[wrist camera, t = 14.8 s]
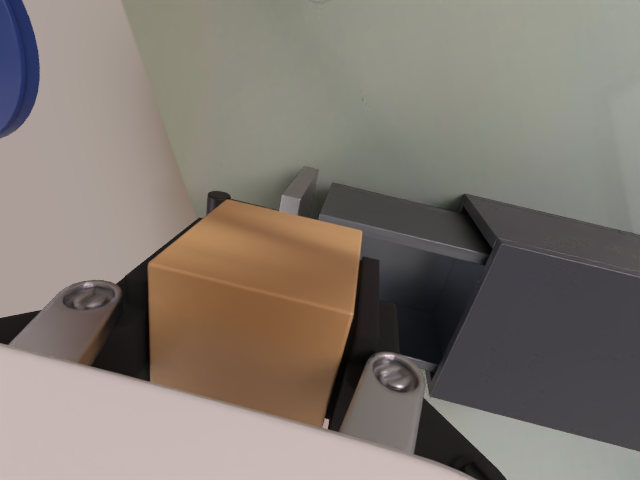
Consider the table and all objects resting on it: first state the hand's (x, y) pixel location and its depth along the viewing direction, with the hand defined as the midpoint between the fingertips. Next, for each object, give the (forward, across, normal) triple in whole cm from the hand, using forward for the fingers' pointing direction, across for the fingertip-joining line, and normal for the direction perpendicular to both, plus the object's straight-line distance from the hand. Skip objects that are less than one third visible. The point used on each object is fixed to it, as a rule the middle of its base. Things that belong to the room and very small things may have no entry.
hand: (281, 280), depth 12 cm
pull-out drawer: (+19, -2, +7) cm, 20 cm away
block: (0, 0, 0) cm, 0 cm away
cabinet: (+20, -18, +7) cm, 28 cm away
